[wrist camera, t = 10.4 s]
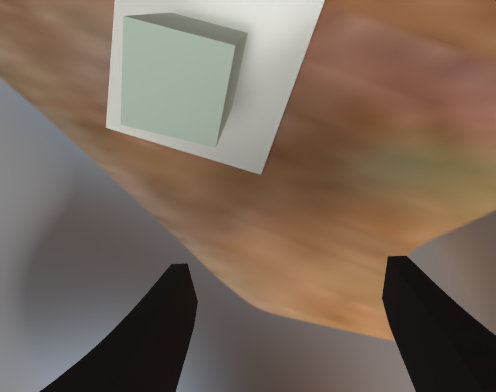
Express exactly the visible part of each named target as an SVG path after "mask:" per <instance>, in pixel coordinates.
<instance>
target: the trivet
mask: <svg viewBox="0 0 496 392" xmlns="http://www.w3.org/2000/svg"><path fill="white" fill-rule="evenodd" d="M324 1H325V0H115V7H114V21H113V35H112V49H111V63H110V77H109V91H108V105H107V119H106V128H109V129H112V130H115V131H118V132H122V133H125V134H128V135H132V136H135V137H138V138H141V139H145V140H148V141H151V142H155V143H158V144H161V145H164V146H168V147H171V148H174V149H178V150H181V151H184V152H187V153H191V154H194V155H197V156H201V157H204V158H207V159H210V160H214V161H217V162H220V163H224V164H227V165H230V166H233V167H237V168H240V169H243V170H247V171H250V172H253V173H257V174H260V175H261V173H262V171H263V168H264V165H265V162H266V160H267V157H268V154H269V152H270V149H271V146H272V143H273V141H274V138H275V135H276V132H277V130H278V127H279V124H280V121H281V119H282V116H283V113H284V110H285V108H286V105H287V102H288V99H289V97H290V94H291V91H292V89H293V86H294V83H295V80H296V78H297V75H298V72H299V69H300V67H301V64H302V61H303V58H304V56H305V53H306V50H307V47H308V45H309V42H310V39H311V37H312V34H313V31H314V28H315V26H316V23H317V20H318V17H319V15H320V12H321V9H322V6H323V4H324ZM170 12H171V13H175V14H179V15H183V16H186V17H190V18H194V19H198V20H201V21H205V22H209V23H213V24H216V25H220V26H224V27H228V28H231V29H235V30H239V31H242V32H246V33H248V34H247V39H246V43H245V48H244V53H243V58H242V63H241V67H240V72H239V77H238V82H237V87H236V92H235V96H234V101H233V106H232V110H231V112H230V114H229V117H228V119H227V122H226V124H225V127H224V129H223V131H222V134H221V136H220V139H219V141H218V144H217V146H216V148H214V147H210V146H206V145H202V144H198V143H194V142H190V141H186V140H182V139H178V138H173V137H169V136H165V135H161V134H157V133H153V132H149V131H145V130H141V129H137V128H133V127H129V126H124V125H121V87H122V48H123V16H129V15H142V14H156V13H170Z"/></svg>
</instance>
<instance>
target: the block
mask: <svg viewBox="0 0 496 392" xmlns="http://www.w3.org/2000/svg"><path fill="white" fill-rule="evenodd" d="M247 34H248V33H246V32H242V31H239V30H235V29H231V28H228V27H224V26H220V25H216V24H213V23H209V22H205V21H201V20H198V19H194V18H190V17H186V16H183V15H179V14H175V13H171V12H170V13H156V14H142V15H129V16H123V48H122V87H121V125H124V126H129V127H133V128H137V129H141V130H145V131H149V132H153V133H157V134H161V135H165V136H169V137H173V138H178V139H182V140H186V141H190V142H194V143H198V144H202V145H206V146H210V147H214V148H216V146H217V144H218V141H219V139H220V136H221V134H222V131H223V129H224V127H225V124H226V122H227V119H228V117H229V114H230V112H231V110H232V106H233V101H234V96H235V92H236V87H237V82H238V77H239V72H240V67H241V63H242V58H243V53H244V48H245V43H246V39H247Z"/></svg>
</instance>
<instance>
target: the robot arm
mask: <svg viewBox="0 0 496 392" xmlns="http://www.w3.org/2000/svg"><path fill="white" fill-rule="evenodd" d="M382 299H383V303H384V307H385V311H386V315H387V318H388V322H389V325H390V328H391V331H392V333H393V336H394V338H395V341H396V343H397V346H398V348H399V351H400V353H401V356H402V358H403V361H404V363H405V365H406V368H407V370H408V373H409V376H410V378H411V381H412V383H413V386H414V388H415V390H416V392H496V335H494V334H493V333H492V332H490V331H489V330H488V329H487V328H485V327H484V326H483V325H482V324H481V323H479V322H478V321H477V320H476V319H474V318H473V317H472V316H471V315H470V314H468V313H467V312H466V311H465V310H464V309H463V308H462V307H460V306H459V305H458V304H457V303H456V302H454V300H452V299H451V298H450V297H449V296H448V295H447V294H446V293H445V292H444V291H443V290H441V288H439V287H438V286H437V285H436V284H435V283H434V282H433V281H432V280H431V279H430V278H429V277H428V276H427V275H426V274H425V273H424V272H423V271H422V270H421V269H420V268H419V267H418V266H417V265H415V263H413V262H412V261H411V260H410V259H409V258H408V257H407V256H388V260H387V267H386V274H385V281H384V288H383V295H382ZM197 303H198V301H197V297H196V293H195V290H194V286H193V282H192V279H191V275H190V271H189V268H188V264H171V266H170V267H169V268H168V269H167V270H166V272H165V273H164V274H163V275H162V276H161V277H160V278H159V280H158V281H157V282H156V283H155V284H154V286H153V287H152V288H151V289H150V290H149V292H148V293H147V294H146V295H145V296H144V297H143V298H142V299H141V301H140V302H139V303H138V304H137V305H136V306H135V307H134V309H133V310H132V311H131V312H130V313H129V314H128V315H127V316H126V317H125V318H124V319H123V320H122V321H121V322H120V323H119V325H117V326H116V328H115V329H114V330H113V331H112V332H111V333H110V334H108V336H106V338H104V339H103V340H102V341H101V342H100V343H99V344H98V345H97V346H96V347H95V348H94V349H92V350H91V351H90V352H89V353H88V354H87V355H86V356H84V357H83V358H82V359H81V360H80V361H78V362H77V363H76V364H75V365H73V366H72V367H71V368H70V369H68V370H67V371H66V372H65V373H64V374H62V375H61V376H60V377H59V378H58V379H56V380H55V381H53V382H52V383H51V384H49V385H48V386H47V387H45V388H44V389H43V390H41V391H40V392H176V388H177V385H178V381H179V378H180V374H181V371H182V367H183V364H184V360H185V357H186V354H187V350H188V347H189V343H190V339H191V335H192V332H193V328H194V322H195V317H196V310H197Z"/></svg>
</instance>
